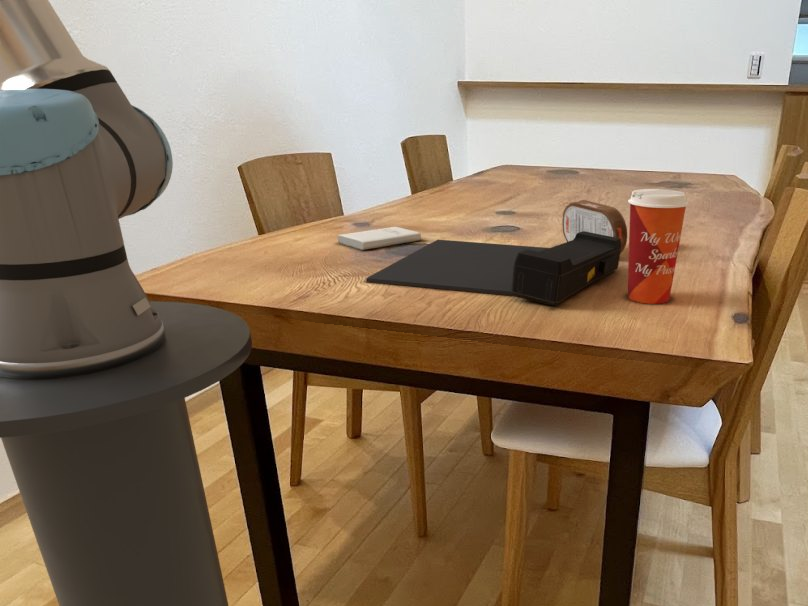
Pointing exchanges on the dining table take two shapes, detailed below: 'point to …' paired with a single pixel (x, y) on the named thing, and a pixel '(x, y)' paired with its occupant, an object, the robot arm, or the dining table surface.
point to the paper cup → (654, 243)
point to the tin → (593, 221)
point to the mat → (456, 267)
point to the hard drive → (378, 238)
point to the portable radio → (564, 267)
